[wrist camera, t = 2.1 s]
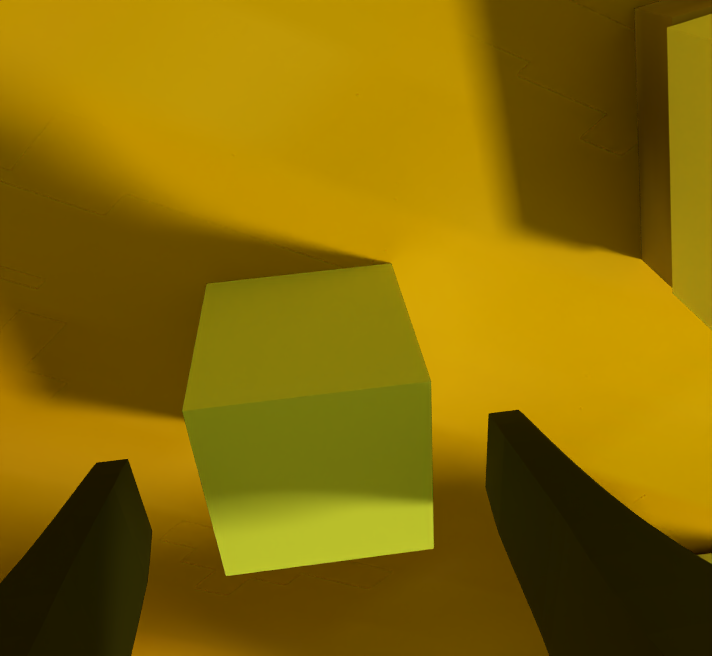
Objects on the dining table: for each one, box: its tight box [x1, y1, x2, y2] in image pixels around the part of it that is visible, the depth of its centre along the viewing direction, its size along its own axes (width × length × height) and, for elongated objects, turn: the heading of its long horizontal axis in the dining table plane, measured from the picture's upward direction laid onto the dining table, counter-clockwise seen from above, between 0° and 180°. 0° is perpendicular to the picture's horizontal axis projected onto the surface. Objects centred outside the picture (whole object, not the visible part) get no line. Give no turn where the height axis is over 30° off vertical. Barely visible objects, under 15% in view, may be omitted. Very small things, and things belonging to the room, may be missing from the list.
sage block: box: [182, 263, 434, 576], centre depth 15 cm, size 4×4×5 cm
